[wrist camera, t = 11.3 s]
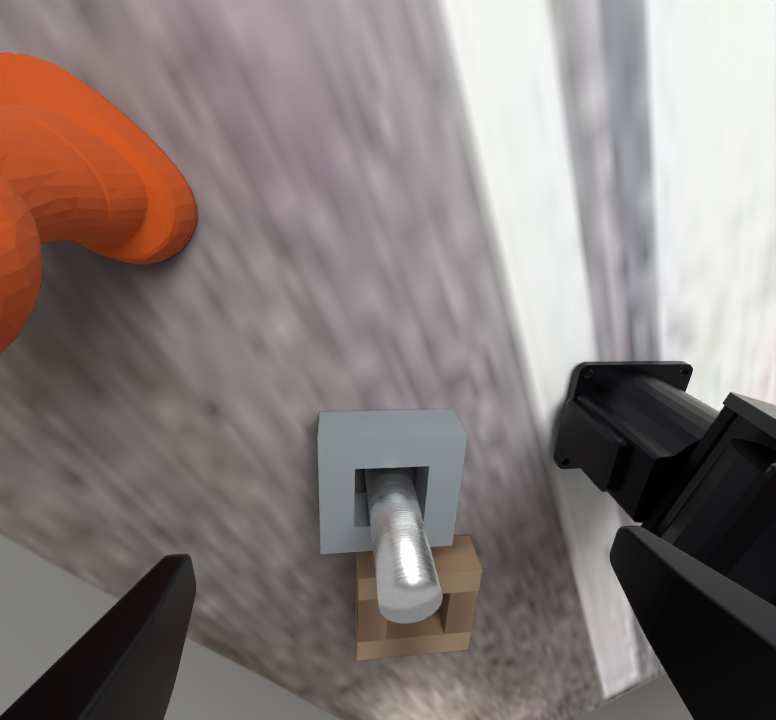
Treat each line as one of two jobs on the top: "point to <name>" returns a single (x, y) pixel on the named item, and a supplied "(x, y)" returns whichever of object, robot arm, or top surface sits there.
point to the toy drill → (77, 183)
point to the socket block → (433, 633)
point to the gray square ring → (387, 450)
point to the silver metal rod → (400, 548)
